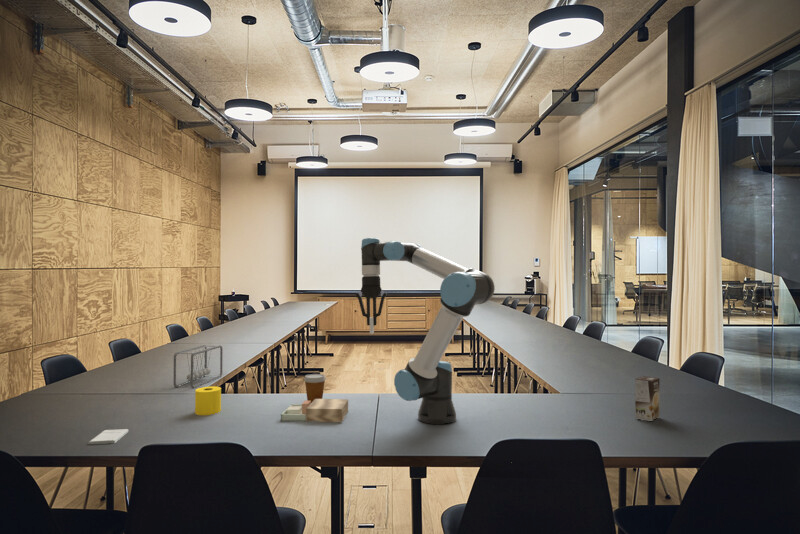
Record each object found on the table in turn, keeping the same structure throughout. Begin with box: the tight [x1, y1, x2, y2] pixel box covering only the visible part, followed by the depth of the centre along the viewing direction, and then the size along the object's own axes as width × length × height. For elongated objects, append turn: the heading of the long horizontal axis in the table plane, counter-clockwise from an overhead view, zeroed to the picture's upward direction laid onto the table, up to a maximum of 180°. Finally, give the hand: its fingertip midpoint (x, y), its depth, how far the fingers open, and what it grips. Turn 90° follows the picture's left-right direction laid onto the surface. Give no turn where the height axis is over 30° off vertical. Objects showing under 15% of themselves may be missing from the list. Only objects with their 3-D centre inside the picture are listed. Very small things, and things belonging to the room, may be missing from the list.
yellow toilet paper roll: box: [194, 386, 222, 416], centre depth 206 cm, size 10×10×9 cm
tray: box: [280, 403, 307, 422], centre depth 201 cm, size 10×15×2 cm, turn 177°
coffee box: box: [634, 375, 661, 421], centre depth 198 cm, size 9×6×16 cm
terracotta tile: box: [301, 400, 311, 415], centre depth 200 cm, size 5×5×2 cm
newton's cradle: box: [172, 344, 224, 389], centre depth 262 cm, size 30×10×18 cm, turn 171°
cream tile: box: [286, 405, 302, 414], centre depth 201 cm, size 5×5×2 cm
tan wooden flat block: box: [305, 398, 349, 423], centre depth 200 cm, size 14×15×5 cm
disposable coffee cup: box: [303, 373, 327, 403], centre depth 220 cm, size 10×10×12 cm
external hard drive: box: [88, 428, 129, 445], centre depth 173 cm, size 2×8×12 cm
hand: (371, 333), depth 202 cm, fingers closed
